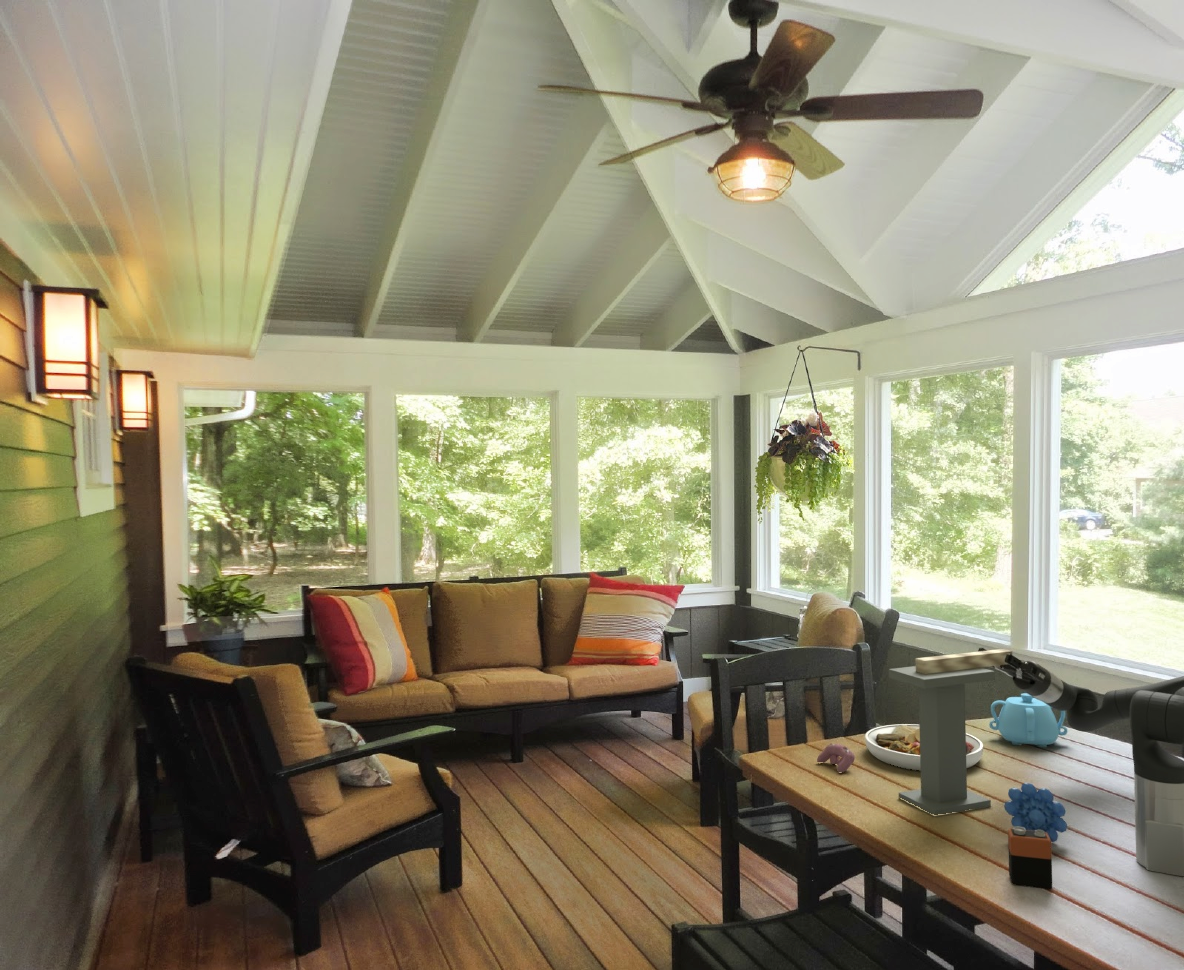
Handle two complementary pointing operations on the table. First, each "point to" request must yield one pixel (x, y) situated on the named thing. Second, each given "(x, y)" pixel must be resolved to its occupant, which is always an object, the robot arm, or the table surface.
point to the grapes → (1036, 810)
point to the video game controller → (837, 756)
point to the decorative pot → (1027, 721)
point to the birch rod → (961, 661)
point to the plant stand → (943, 739)
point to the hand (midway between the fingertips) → (992, 654)
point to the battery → (1030, 858)
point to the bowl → (910, 746)
